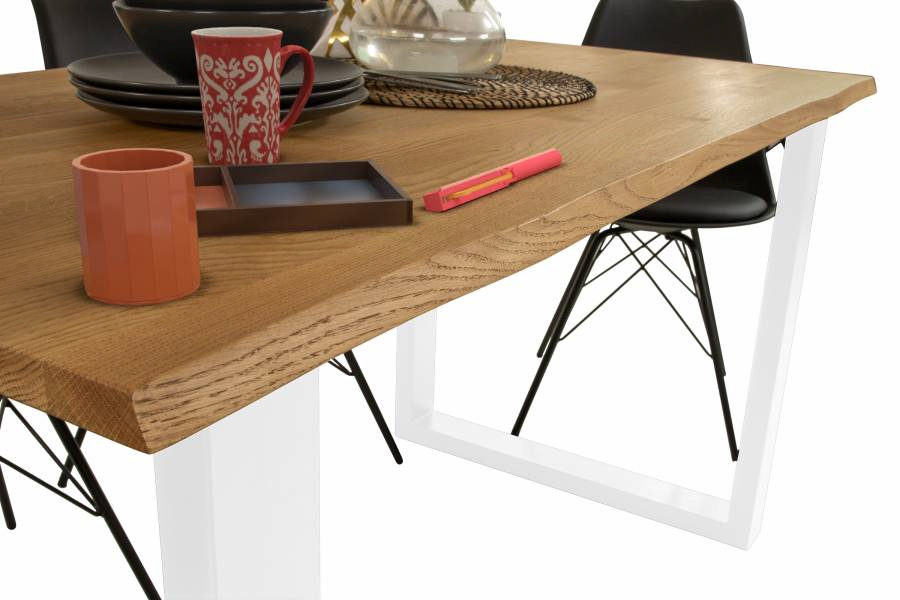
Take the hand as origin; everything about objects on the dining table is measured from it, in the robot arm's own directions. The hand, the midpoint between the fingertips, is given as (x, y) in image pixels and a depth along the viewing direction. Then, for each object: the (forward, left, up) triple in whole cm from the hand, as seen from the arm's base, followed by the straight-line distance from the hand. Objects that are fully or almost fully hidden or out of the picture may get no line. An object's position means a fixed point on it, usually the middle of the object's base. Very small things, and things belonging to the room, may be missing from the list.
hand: (255, 0), depth 101 cm
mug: (0, 0, -17) cm, 17 cm away
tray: (-3, -20, -16) cm, 26 cm away
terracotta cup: (-12, -39, -16) cm, 44 cm away
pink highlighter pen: (+21, -16, -17) cm, 31 cm away
